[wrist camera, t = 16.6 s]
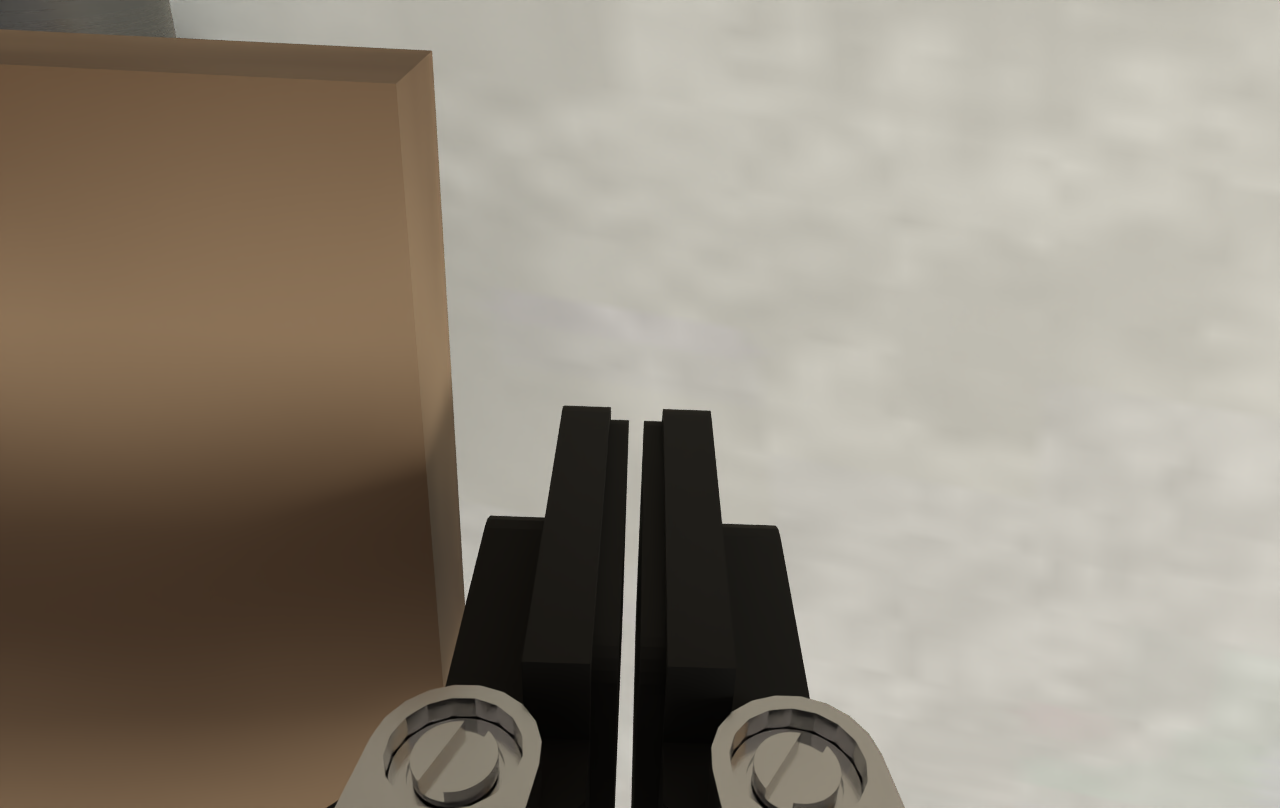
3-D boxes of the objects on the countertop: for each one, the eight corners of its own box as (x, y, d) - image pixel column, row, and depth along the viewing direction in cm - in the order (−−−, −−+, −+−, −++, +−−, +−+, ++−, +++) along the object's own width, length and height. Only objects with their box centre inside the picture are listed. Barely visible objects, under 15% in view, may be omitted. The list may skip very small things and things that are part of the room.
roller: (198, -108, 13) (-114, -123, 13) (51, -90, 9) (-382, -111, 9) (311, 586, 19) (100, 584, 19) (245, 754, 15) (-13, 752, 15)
